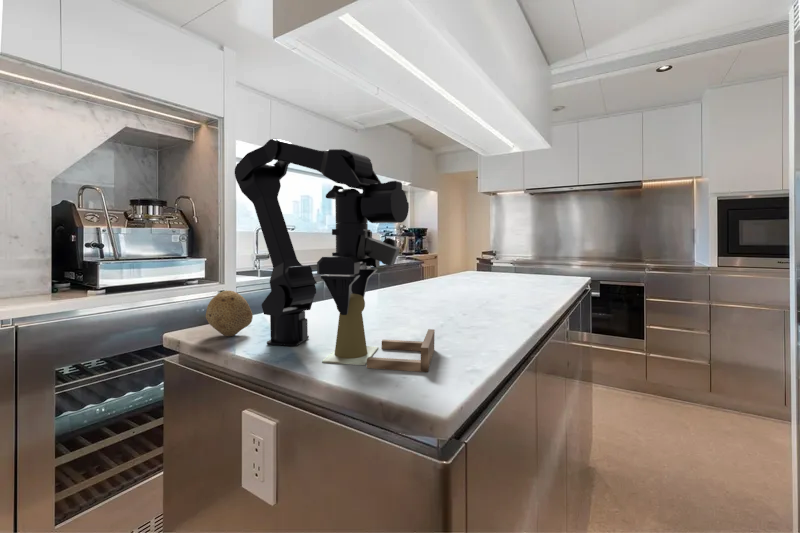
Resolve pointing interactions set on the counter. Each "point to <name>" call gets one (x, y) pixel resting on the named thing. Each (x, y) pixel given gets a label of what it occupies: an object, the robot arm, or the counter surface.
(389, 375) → the counter surface
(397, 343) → the wooden frame with plate
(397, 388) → the counter surface
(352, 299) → the cork
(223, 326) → the natural sponge
